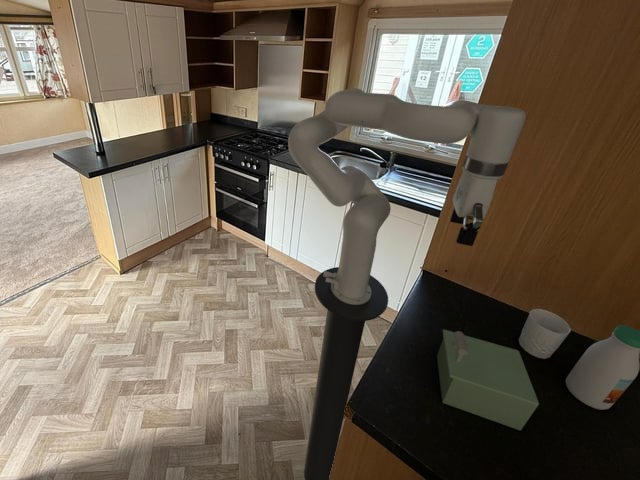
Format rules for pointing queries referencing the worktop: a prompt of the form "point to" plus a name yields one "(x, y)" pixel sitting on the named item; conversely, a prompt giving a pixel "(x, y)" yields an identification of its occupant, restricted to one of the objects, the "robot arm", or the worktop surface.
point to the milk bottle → (606, 369)
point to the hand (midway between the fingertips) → (460, 232)
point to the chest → (481, 398)
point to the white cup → (543, 333)
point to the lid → (488, 366)
